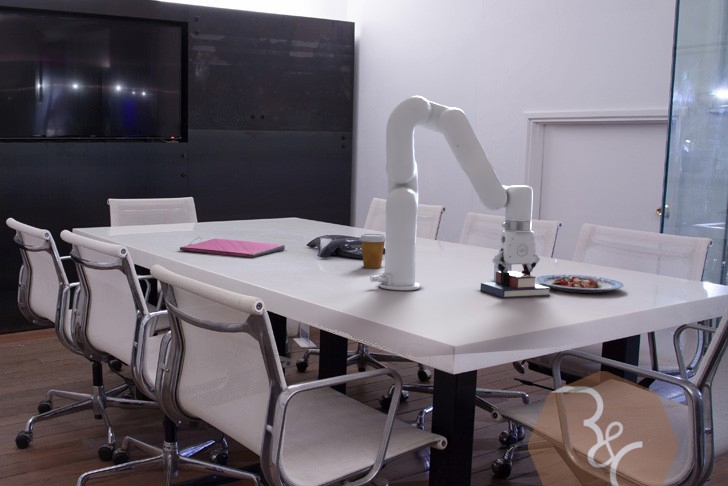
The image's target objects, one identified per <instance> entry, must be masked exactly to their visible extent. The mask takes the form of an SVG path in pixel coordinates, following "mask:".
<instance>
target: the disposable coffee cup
mask: <svg viewBox="0 0 728 486" xmlns="http://www.w3.org/2000/svg"><path fill="white" fill-rule="evenodd" d="M359 240H360V242H361V243H360V244H361V253H362V263H363V267H364V268H367V269H381V268H382V264H383V263H382V261H383V255H384V251H385V249H384V248H385V243H386V234H382V233H361V235H360V237H359Z"/></svg>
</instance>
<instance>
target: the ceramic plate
mask: <svg viewBox="0 0 728 486" xmlns="http://www.w3.org/2000/svg"><path fill="white" fill-rule="evenodd" d="M535 277H536V278H535V282H536V283H538V284H540V285H544V286H547V287H549V288H552V289H555V290H558V291H563V292H568V293H569V292H570V293H571V292H572V293H579V294H598V293H606V292H608V291H611V290H618V289H619V290H620V289H622V288H623V287H624V286H625V284H624V283H623V282H621V281H618V280H615V279H611V278H606V277H601V276H592V275H584V274H583V275H581V274H544V275H539V276H535Z"/></svg>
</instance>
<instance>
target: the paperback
mask: <svg viewBox="0 0 728 486" xmlns="http://www.w3.org/2000/svg"><path fill="white" fill-rule="evenodd" d="M507 273H509V285H508V287H512V288H515V289H527V288H535V284H536V281H535V278H536V277H537V276H535V275H531V274H530V275H528V274H524V273H522V272H519V271H516V270H512V271H508V272H507ZM500 280H501V272H500V271H497V272H496V281H494V282H495V283H498V284H501V281H500Z"/></svg>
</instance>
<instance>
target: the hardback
mask: <svg viewBox="0 0 728 486" xmlns="http://www.w3.org/2000/svg"><path fill="white" fill-rule="evenodd" d="M550 290H551V287H550V286H547V285H543V284H539V283H535V288H527V289H515V288H512V287H508V286H505V285H502V284H498V283H495V281H493V282H491V281H490V282H481V283H480V292H482V293H485V294H489V295H492V296H495V297H498V298H501V299H516V298H535V297H536V298H537V297H550V296H551V294H550Z"/></svg>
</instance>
